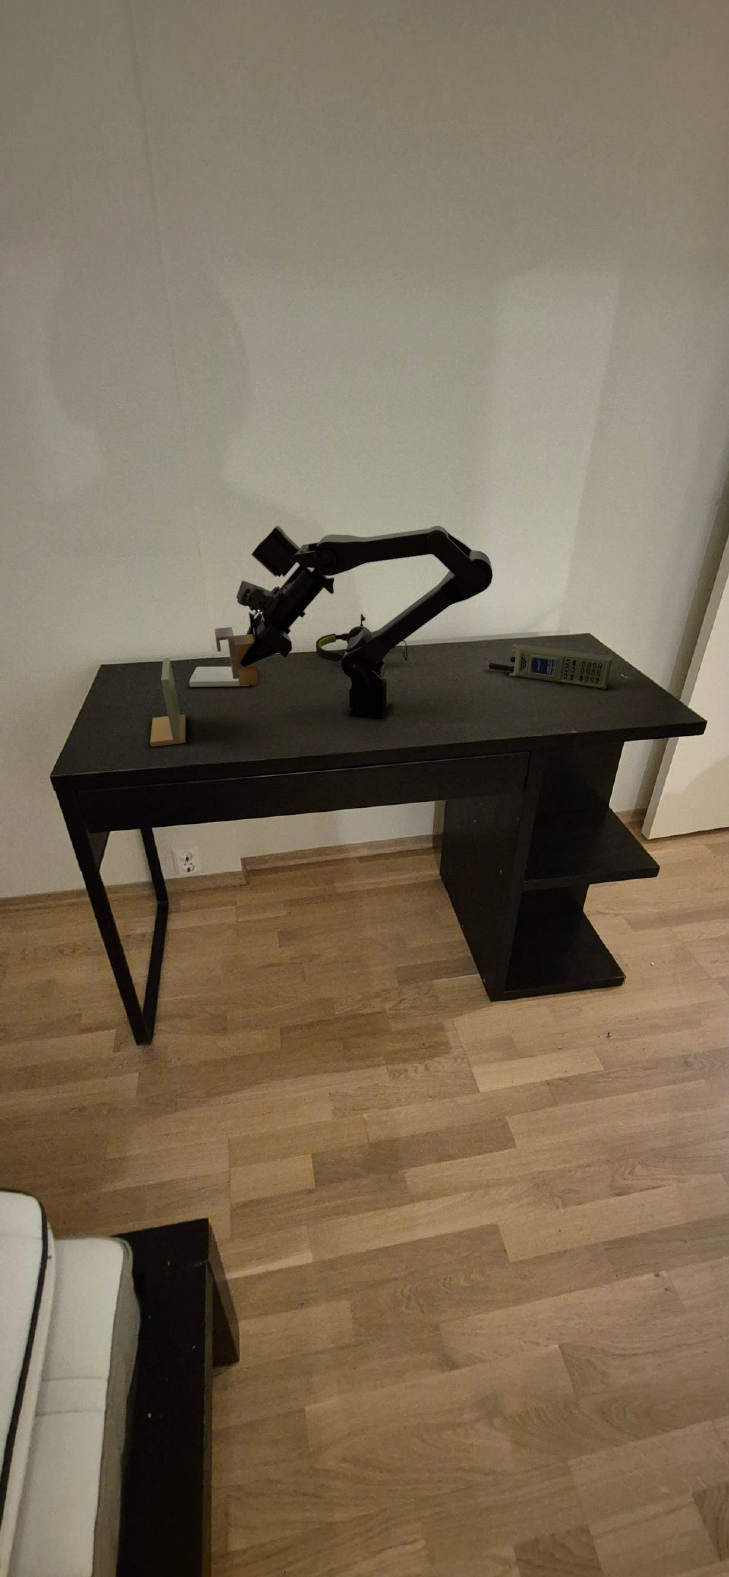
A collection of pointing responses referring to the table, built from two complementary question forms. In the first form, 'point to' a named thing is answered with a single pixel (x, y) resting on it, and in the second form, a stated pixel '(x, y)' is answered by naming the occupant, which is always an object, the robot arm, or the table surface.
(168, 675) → the door panel
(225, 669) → the hard drive
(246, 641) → the lidded tan box
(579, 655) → the handheld radio
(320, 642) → the headphones
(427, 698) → the table surface
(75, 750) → the table surface
